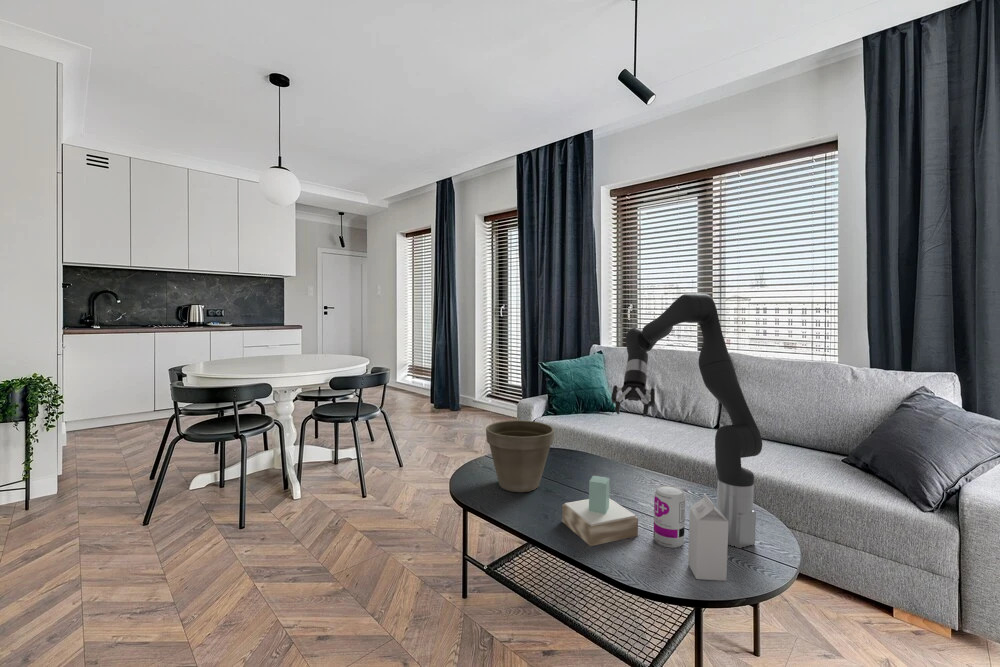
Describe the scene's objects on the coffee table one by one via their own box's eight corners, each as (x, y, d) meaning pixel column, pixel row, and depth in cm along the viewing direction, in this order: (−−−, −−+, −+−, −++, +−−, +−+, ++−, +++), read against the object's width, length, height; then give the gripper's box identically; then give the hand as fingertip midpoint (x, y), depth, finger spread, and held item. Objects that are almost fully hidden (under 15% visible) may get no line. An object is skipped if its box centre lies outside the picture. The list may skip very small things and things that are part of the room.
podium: (637, 535, 140) (638, 515, 139) (590, 546, 134) (590, 525, 133) (606, 513, 154) (606, 495, 154) (562, 521, 149) (562, 502, 148)
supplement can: (665, 550, 131) (666, 497, 130) (647, 536, 139) (648, 486, 138) (690, 546, 134) (691, 494, 133) (671, 533, 141) (673, 483, 140)
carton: (609, 507, 145) (609, 478, 144) (605, 513, 140) (606, 483, 140) (592, 504, 147) (593, 475, 146) (588, 510, 142) (589, 481, 142)
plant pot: (534, 469, 194) (535, 416, 193) (566, 492, 172) (566, 432, 170) (476, 478, 185) (476, 422, 183) (501, 503, 162) (501, 440, 161)
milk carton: (716, 565, 124) (718, 493, 123) (726, 581, 117) (729, 505, 116) (687, 564, 125) (689, 492, 123) (696, 579, 118) (698, 504, 116)
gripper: (614, 367, 171) (608, 406, 161) (656, 370, 165) (652, 410, 156) (616, 380, 176) (610, 418, 166) (657, 382, 171) (653, 422, 161)
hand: (631, 414), depth 161 cm, fingers open, 8 cm apart
